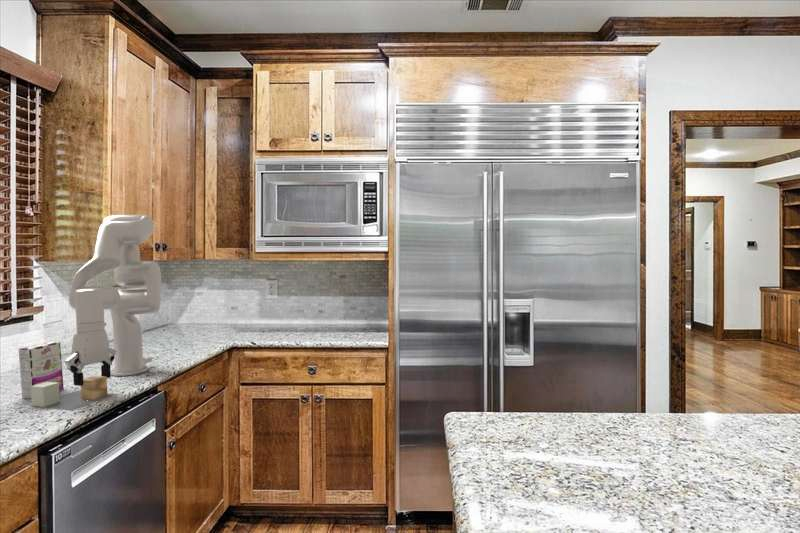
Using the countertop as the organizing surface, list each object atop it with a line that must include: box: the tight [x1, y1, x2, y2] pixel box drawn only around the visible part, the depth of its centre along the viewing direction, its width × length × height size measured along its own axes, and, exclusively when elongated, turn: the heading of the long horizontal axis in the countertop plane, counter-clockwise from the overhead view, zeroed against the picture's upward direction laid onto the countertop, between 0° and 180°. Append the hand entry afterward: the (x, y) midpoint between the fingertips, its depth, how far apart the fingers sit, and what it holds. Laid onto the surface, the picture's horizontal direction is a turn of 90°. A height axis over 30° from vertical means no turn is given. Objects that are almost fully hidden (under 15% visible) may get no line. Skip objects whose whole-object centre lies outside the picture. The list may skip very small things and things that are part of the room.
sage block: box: [30, 382, 61, 408], centre depth 150 cm, size 5×5×6 cm
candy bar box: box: [18, 341, 64, 399], centre depth 161 cm, size 11×5×16 cm, turn 168°
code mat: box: [30, 390, 118, 411], centre depth 154 cm, size 16×17×1 cm
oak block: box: [80, 375, 108, 400], centre depth 156 cm, size 5×5×6 cm
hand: (92, 381), depth 155 cm, fingers open, 9 cm apart
